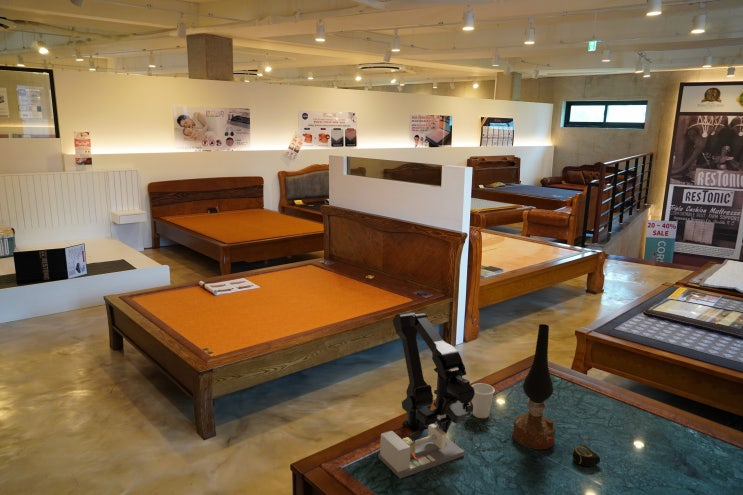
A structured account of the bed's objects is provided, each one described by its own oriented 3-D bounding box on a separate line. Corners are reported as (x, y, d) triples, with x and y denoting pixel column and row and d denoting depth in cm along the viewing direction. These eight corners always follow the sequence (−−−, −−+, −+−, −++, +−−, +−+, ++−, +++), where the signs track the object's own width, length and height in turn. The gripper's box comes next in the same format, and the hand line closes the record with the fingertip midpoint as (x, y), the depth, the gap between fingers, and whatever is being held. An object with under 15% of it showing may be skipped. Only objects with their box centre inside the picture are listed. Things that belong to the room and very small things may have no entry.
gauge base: (378, 457, 169) (379, 432, 167) (440, 437, 181) (441, 413, 179) (399, 478, 159) (401, 452, 157) (464, 455, 171) (465, 430, 169)
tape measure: (600, 466, 167) (602, 455, 166) (581, 470, 165) (583, 459, 164) (585, 454, 174) (587, 443, 173) (567, 457, 171) (568, 446, 171)
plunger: (409, 444, 171) (409, 430, 170) (431, 437, 175) (432, 423, 174) (422, 456, 165) (423, 441, 164) (445, 448, 170) (446, 433, 169)
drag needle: (401, 450, 168) (402, 438, 167) (407, 448, 169) (407, 436, 168) (415, 462, 162) (415, 450, 161) (420, 460, 163) (421, 448, 162)
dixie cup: (479, 422, 191) (481, 395, 188) (464, 411, 198) (465, 386, 196) (497, 416, 195) (499, 390, 193) (481, 406, 202) (483, 381, 200)
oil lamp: (505, 439, 187) (487, 327, 181) (543, 425, 191) (527, 316, 185) (528, 457, 174) (510, 338, 168) (568, 442, 178) (552, 325, 172)
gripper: (437, 407, 158) (435, 456, 161) (486, 393, 168) (483, 439, 171) (415, 391, 168) (413, 438, 171) (463, 379, 177) (460, 423, 180)
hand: (443, 435), depth 173 cm, fingers closed
